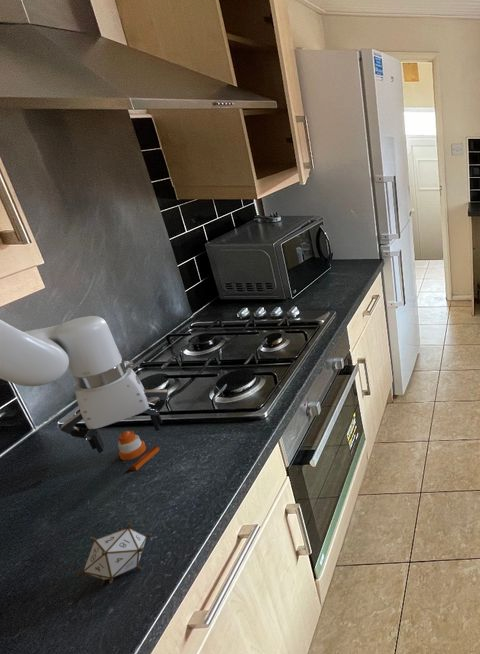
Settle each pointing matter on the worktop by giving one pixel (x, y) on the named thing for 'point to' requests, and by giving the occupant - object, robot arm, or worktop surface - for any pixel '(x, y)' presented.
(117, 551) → the game die
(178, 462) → the worktop surface
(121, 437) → the cone
